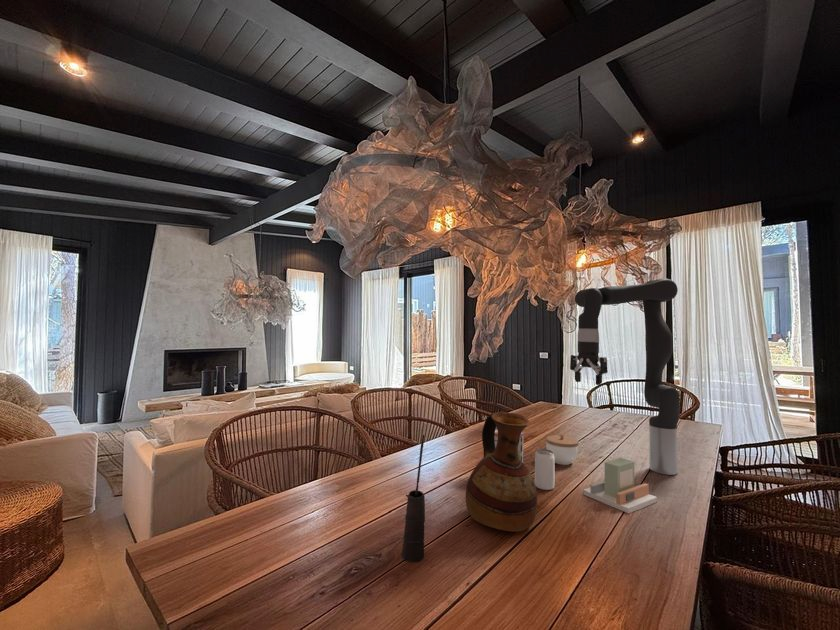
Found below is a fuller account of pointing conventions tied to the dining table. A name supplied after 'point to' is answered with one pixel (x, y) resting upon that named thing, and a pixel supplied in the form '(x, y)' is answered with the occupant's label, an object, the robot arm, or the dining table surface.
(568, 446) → the lidded bowl
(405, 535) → the butter churn
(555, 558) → the dining table surface
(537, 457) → the can
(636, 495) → the shelf
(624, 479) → the carton
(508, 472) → the ceramic pitcher
